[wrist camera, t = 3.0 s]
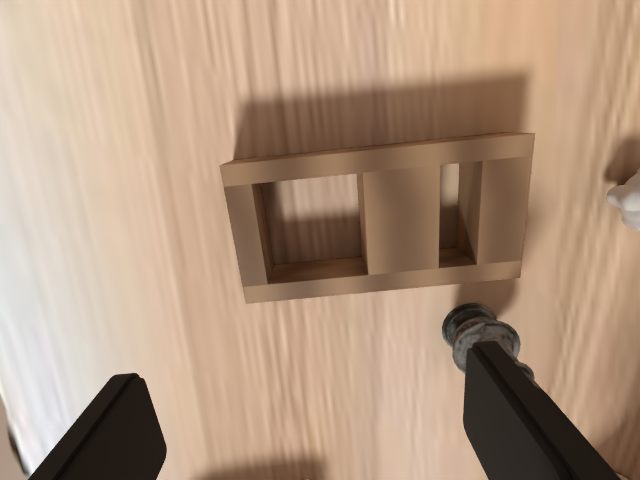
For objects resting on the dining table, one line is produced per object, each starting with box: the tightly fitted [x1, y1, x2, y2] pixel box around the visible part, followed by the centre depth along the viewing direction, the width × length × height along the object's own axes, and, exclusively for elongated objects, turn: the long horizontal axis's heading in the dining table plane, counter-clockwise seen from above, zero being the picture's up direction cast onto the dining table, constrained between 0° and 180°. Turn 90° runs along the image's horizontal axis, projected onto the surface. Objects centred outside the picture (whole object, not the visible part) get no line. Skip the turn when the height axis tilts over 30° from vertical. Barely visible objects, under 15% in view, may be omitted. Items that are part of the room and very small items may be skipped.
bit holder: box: [220, 133, 535, 304], centre depth 27 cm, size 22×11×4 cm, turn 96°
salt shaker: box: [442, 303, 541, 389], centre depth 27 cm, size 6×6×12 cm
